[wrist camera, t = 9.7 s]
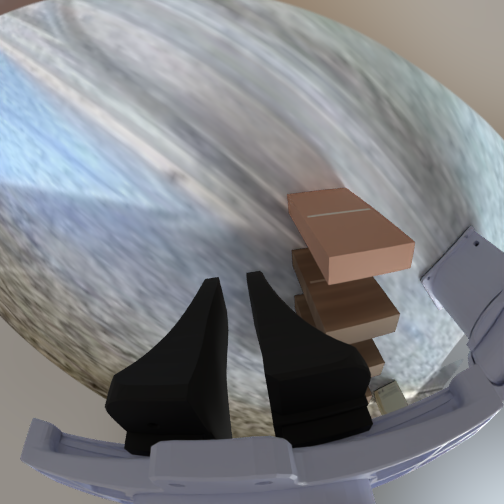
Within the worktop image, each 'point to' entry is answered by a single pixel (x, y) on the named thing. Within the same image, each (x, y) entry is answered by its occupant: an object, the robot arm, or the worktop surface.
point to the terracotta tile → (348, 235)
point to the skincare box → (390, 398)
